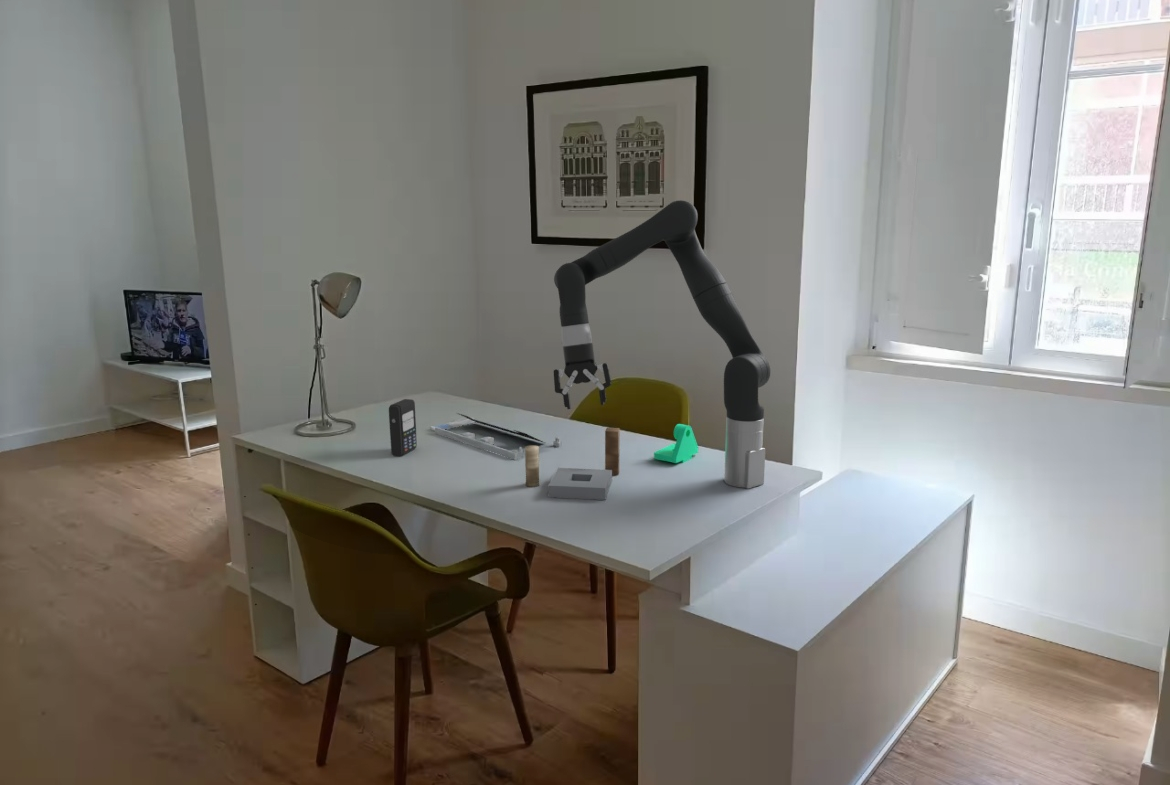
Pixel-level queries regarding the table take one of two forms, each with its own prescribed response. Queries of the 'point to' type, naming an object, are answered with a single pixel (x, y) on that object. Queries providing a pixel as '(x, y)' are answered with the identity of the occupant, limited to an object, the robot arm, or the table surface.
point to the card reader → (402, 427)
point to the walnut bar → (612, 450)
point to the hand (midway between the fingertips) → (585, 406)
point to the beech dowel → (532, 465)
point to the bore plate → (580, 483)
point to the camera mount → (679, 446)
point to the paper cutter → (484, 442)
